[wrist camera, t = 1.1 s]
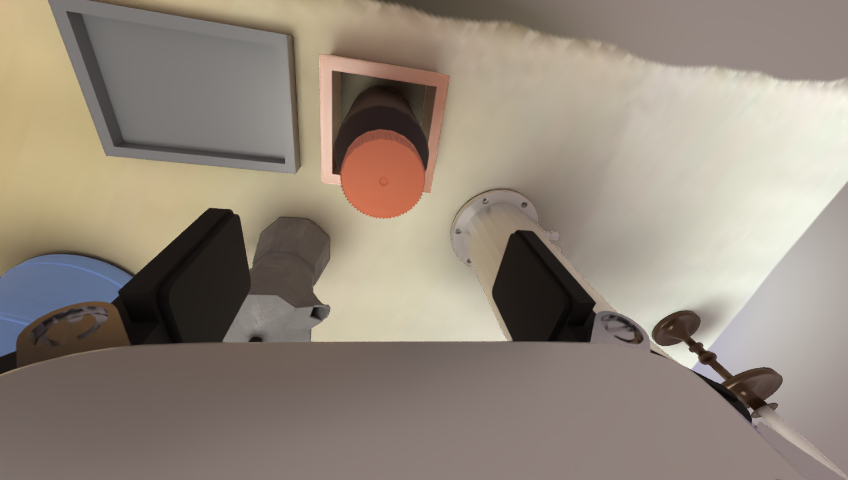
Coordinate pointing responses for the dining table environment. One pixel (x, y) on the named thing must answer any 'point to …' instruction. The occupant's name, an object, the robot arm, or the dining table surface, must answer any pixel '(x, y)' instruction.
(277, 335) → the coffeepot
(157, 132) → the tray
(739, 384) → the candlestick
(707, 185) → the dining table surface
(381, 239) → the dining table surface
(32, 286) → the water jug
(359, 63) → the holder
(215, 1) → the dining table surface
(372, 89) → the vinegar
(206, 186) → the dining table surface
